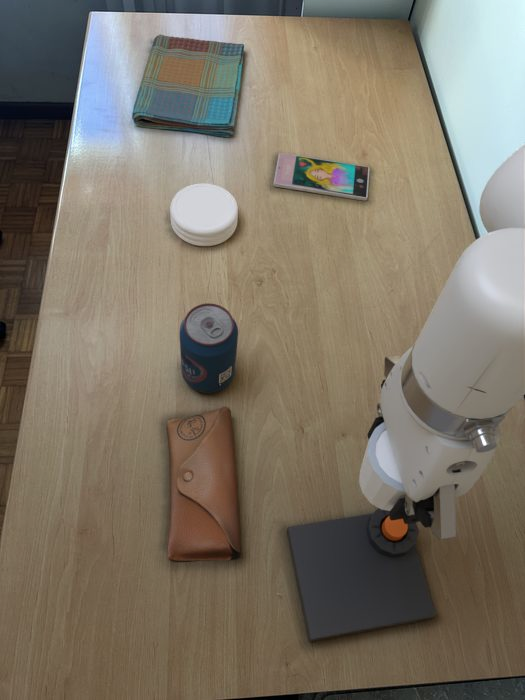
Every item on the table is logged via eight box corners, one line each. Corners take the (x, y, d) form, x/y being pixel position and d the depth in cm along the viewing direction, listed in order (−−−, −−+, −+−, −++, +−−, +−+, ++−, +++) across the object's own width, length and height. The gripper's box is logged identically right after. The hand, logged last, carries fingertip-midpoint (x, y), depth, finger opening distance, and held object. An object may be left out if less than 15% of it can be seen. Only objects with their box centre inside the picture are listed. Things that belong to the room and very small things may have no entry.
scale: (402, 510, 79) (409, 501, 76) (433, 618, 73) (443, 612, 70) (285, 529, 77) (289, 520, 74) (308, 642, 71) (312, 637, 68)
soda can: (171, 369, 87) (166, 318, 77) (213, 342, 89) (214, 289, 79) (203, 407, 84) (203, 359, 74) (245, 377, 87) (251, 328, 77)
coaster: (160, 236, 98) (159, 220, 95) (184, 191, 103) (184, 174, 100) (224, 255, 97) (225, 239, 94) (245, 208, 102) (246, 192, 99)
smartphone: (367, 198, 104) (273, 183, 104) (366, 201, 105) (272, 187, 105) (369, 166, 108) (278, 152, 108) (368, 170, 109) (278, 155, 109)
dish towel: (130, 127, 110) (128, 115, 108) (153, 41, 122) (152, 28, 120) (233, 139, 110) (234, 127, 108) (246, 52, 122) (247, 39, 120)
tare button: (400, 516, 76) (404, 512, 74) (407, 539, 74) (410, 535, 73) (378, 520, 75) (381, 515, 74) (385, 542, 74) (388, 539, 73)
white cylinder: (343, 502, 61) (358, 475, 55) (362, 438, 64) (378, 405, 58) (416, 528, 60) (439, 504, 54) (431, 462, 63) (454, 431, 57)
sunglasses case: (162, 417, 83) (188, 394, 78) (210, 426, 86) (238, 405, 82) (166, 564, 73) (196, 549, 69) (220, 567, 77) (252, 552, 73)
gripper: (558, 495, 41) (463, 564, 57) (468, 275, 50) (407, 386, 65) (445, 513, 40) (379, 578, 55) (373, 284, 49) (333, 395, 64)
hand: (394, 473), depth 60 cm, fingers closed on white cylinder, 6 cm apart
